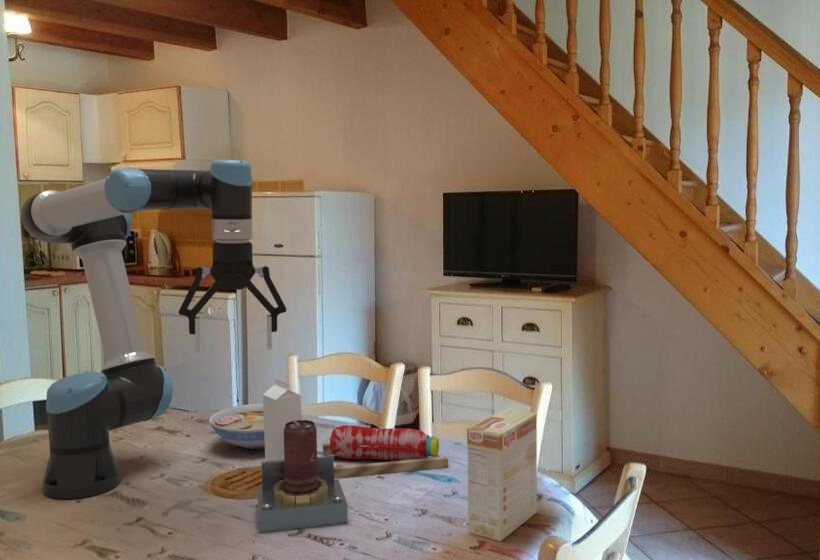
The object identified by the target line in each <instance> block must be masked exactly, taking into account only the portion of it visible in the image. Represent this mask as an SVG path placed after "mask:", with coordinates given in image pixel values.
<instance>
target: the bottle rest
mask: <svg viewBox="0 0 820 560" xmlns="http://www.w3.org/2000/svg"><path fill="white" fill-rule="evenodd" d="M427 435H428V436H429V437H431V436H430V435H429V434H427ZM322 454H323V456H325V455H333V454H332V452H331V449H330V443H325V444H324V443H322ZM444 467H448V468H449V457H447V456H437V457H427V458H424V459H413V460H403V461H383V462H373V463H363V464H362V463H361V464H352V465H351V464H350V465H349V464H348V465H340V466H334V479H343V478H351V477H352V478H354V477H364V476H365V477H366V476H373V475H385V474H393V473H394V474H396V473H403V472H404V473H405V472H407V473H408V472H413V471H424V470H425V471H426V470H436V468H438V469H445V468H444Z"/></svg>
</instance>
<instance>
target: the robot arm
mask: <svg viewBox="0 0 820 560" xmlns="http://www.w3.org/2000/svg"><path fill="white" fill-rule="evenodd" d="M253 183H254V182H253V178H252V166H251V164H250V162H249V161H247V160H244V159H243V160H242V159H241V160H240V159H213V160H212V161H211V164H210V170H201V169H200V170H198V169H197V170H196V169H195V170H194V169H153V168H149V169H148V168H135V167H125V168H115V169H113V170H111V171H110V172H109V175H107V176H106V178H103V179H100V180H97V181H93V182H90V183H87V184H83V185H79V186H76V187H73V188H69V189H65V190H54V189H49V190H44V191H41V192H37V193H35V194H32V195H31V196H30V197H28V198H27V199H26V200H25V201H24V202H23V205H22V206H21V207H22V208H21V210H20V219H21V223H22V226H23V228H24V229H25V230H26V232H27V233H28V234H29V235H30V236H31V237H33V238H34V239H36V240H39V241H41V242H44V243H48V244H58V245H59V244H70V247H71V250H72V254H73V255H74V256H75V257H78V258H79V259H80V260H81V261H82V265H83V266H82V267H83V270H84V274H85V278H86V282H87V286H88V291H89V294H90V298H91V303H92V308H93V310H94V317H95V320H96V324H97V328H98V332H99V333H98V334H99V336H100V337H99V338H100V341H101V345H102V350H103V353H104V358H105V364H104V365H103V366H102V368H101V369H100V372H99V371H86V372H82V373H75V374H71V375H68V376H65V377H62V378H59V379H57V380H56V381H54V382H53V383H52V384H50V386H49V387H48V388H47V390H46V402H45V403H46V404H45V409H46V415H47V429H48V444H49V457H48V462H47V464H46V469H45V470H44V471H45V472H44V476H43V478H42V479H43V480H42V492H43V495H45V496H46V497H48V498H51V499H58V500H59V499H60V500H74V499H81V498H82V499H83V498H89V497H93V496H97V495H100V494H103V493H105V492H108V491H110V490H113V489H114V488H116V487H117V486H118V485H119V484H120V483H121V479H122V478H121V470H120V467H119V464H118V462H117V460H116V458H115V455H114V453H113V450H112V448H111V445H110V444H111V443H110V431H112V430H117V429H121V428H123V427H127V426H131V425H136V424H138V423H143V422H149V421H150V420H152V419H154V418H157V417H160V416H162V415H163V414H164V413H166V412H167V410H168V409H169V407H170V404H171V402H172V399H173V395H174V394H173V391H174V389H173V388H174V387H173V380H172V378H171V375H170V373H169V372H168V371H167V369H166V368H165V366H162V365H158V364H157V363H156V358H155V356H154V355H152V354H150V353H148V352H147V351H146V348H145V343H144V338H143V335H142V330H141V327H140V324H139V319H138V314H137V311H136V305H135V302H134V298H133V294H132V290H131V286H130V281H129V277H128V274H127V270H126V265H125V261H124V257H123V250H124V249H125V247H126V246H127V240H126V239H127V238H128V237H129V236H130V234H131V231H132V224H133V223H132V222H133V219H132V214H133V213H138V212H141V211H142V212H143V211H149V210H151V211H152V210H196V209H197V210H198V209H199V210H200V209H201V210H211V238H212V239H213V240H215V241H214V242H213V243H212V245H211V248H212V254H211V255H212V265H211V267H203V266H202V265H197V266H196V269H195V275H194V279H193V281H192V283H191V285H190V288H189V289H188V291H187V294H186V296H185V298H184V300H183V302H182V303H181V306H180V308H179V310H178V314H179V316H184V317H186V318H188V333H189V335H194V336H195V337H194V339H195V341H194V342H195V353H201V327H200V325H201V324H200V323H201V321H200V320H201V319H200V316H199V315H198V314H199V313H200V311H201V310H202V309H203V308H204V307H205V306H206V304H207V303H209V301H210V300H211V298H213V296H214V295H215V294H216V293H217V292H218V291H219V290H220V289H223V290H224V291H228V290H243V289H244V288H246V289H247V290H248V291H249V292H250V293H251V294H252V295H253V296H254V297H255V298H256V299H257V300H258V302H259V303H260V304H261V305H262V306H263V307H264V308H265V309H266V311H267V312H268V313H269V314H266V348H267V350H273V349H272V344H273V343H272V342H273V341H272V339H273V338H272V333H277V331H278V316H279V315H280V314H283V313H287V310H288V309H287V307H286V305H285V303H284V301H283V299H282V297H281V296H280V293H279V291H278V290H277V288H276V285H275V284H274V282H273V280H272V278H271V275H270V268H269V266H268V265H267V264H264V265H262V266H254V263H253V253H254V252H253V243H252V242H251V240H252V239H253V215H252V214H253V197H252V196H253ZM209 274H210V275H211V277H212V278H213V279H214V282H213V284H211V285H210V287H209V288H208V290H207V291H206V292H205V293H204V294H203V295H202V296H201V298H200V299H199V300H198V301H197V302H196V304H195V305H194V306H193V307H192V309H189V306H190V304H191V303H192V300H193V299H194V296H195V294H196V293H197V290H198V288H199V286H200V285H201V281H202V280H203V279H206V278H207V276H208V275H209ZM255 274H258V277H260V278H263V281H264V283H265V284H266V285H267V288H268V290H269V291H270V293H271V295H272V296H271V297H272V298H273V299H274V301H275V303H276V305H277V306H276V307H274V306H273V304H272V303H271V302H270V301H269V300H268V298H267V297H265V295H264V294H263V293H262V292H261V291H260V290H259V289H258V288H257V287H256V286H255V284H254V283H253V282H252V281H251V280H252V278H253V277H254V276H255Z"/></svg>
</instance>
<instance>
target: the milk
mask: <svg viewBox="0 0 820 560" xmlns="http://www.w3.org/2000/svg"><path fill="white" fill-rule="evenodd" d="M262 404H263V411H264V439H265V448H264V459H265V461H264V462H267V461H278V460H284V428H285V425H286V423H288V422H291V421H293V420H294V421H297V420H302V418H301V410H302V396H301V394H300V393H298V392H295V391H293V390H291V389H289V383H288V382H287V381H285V380H283V379H280V378H277V377H275V378H274V384H273V385H272V386H271V387H270V388H268V389H267V390H266V391H265V392H264V393H263V394H262Z"/></svg>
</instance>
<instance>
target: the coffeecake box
mask: <svg viewBox="0 0 820 560" xmlns="http://www.w3.org/2000/svg"><path fill="white" fill-rule="evenodd" d="M537 415H538V414H537V413H535V412H530V411H523V410H519V409H515V408H508V407H507V408H503V409H501V410H500V411H498V412H496V413H494V414H492V415H490V416H488V417H486V418H484V419H483V420H481V421H479V422H476V423H475V424H472V425H470V426H469V427H466V436H467V437H466V441H467V443H466V444H467V446H466V447H467V448H466V449H467V451H466V452H467V516H468V517H467V520H468V521H467V522H468V523H467V524H468V525H467V529H468V530H467V531H468V533H469V534H471V535H475V536H477V537H478V536H479V537H484V538H487V539H489V540H493V541H497V542H502V541H504V539H506V538H507V537H508V536H509V535H511V534H512V533H513V532H514V531H515V530H517V529H518V528H520V526H522V525H523V524H525V523H526V522H527V521H528V520H530V518H532V517H533V516H534V515H536V514H537V513H538V508H537V506H538V505H537V503H538V502H537V499H538V498H537V497H538V495H537V494H538V492H537V491H538V490H537V489H538V488H537V487H538V481H537V479H538V478H537V476H538V473H537V471H538V466H537V465H538V464H537V463H538V461H537V460H538V459H537V457H538V456H537V455H538V454H537V452H538V451H537V447H538V446H537V444H538V443H537V436H538V435H537V432H538V429H537V423H538V422H537Z"/></svg>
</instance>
